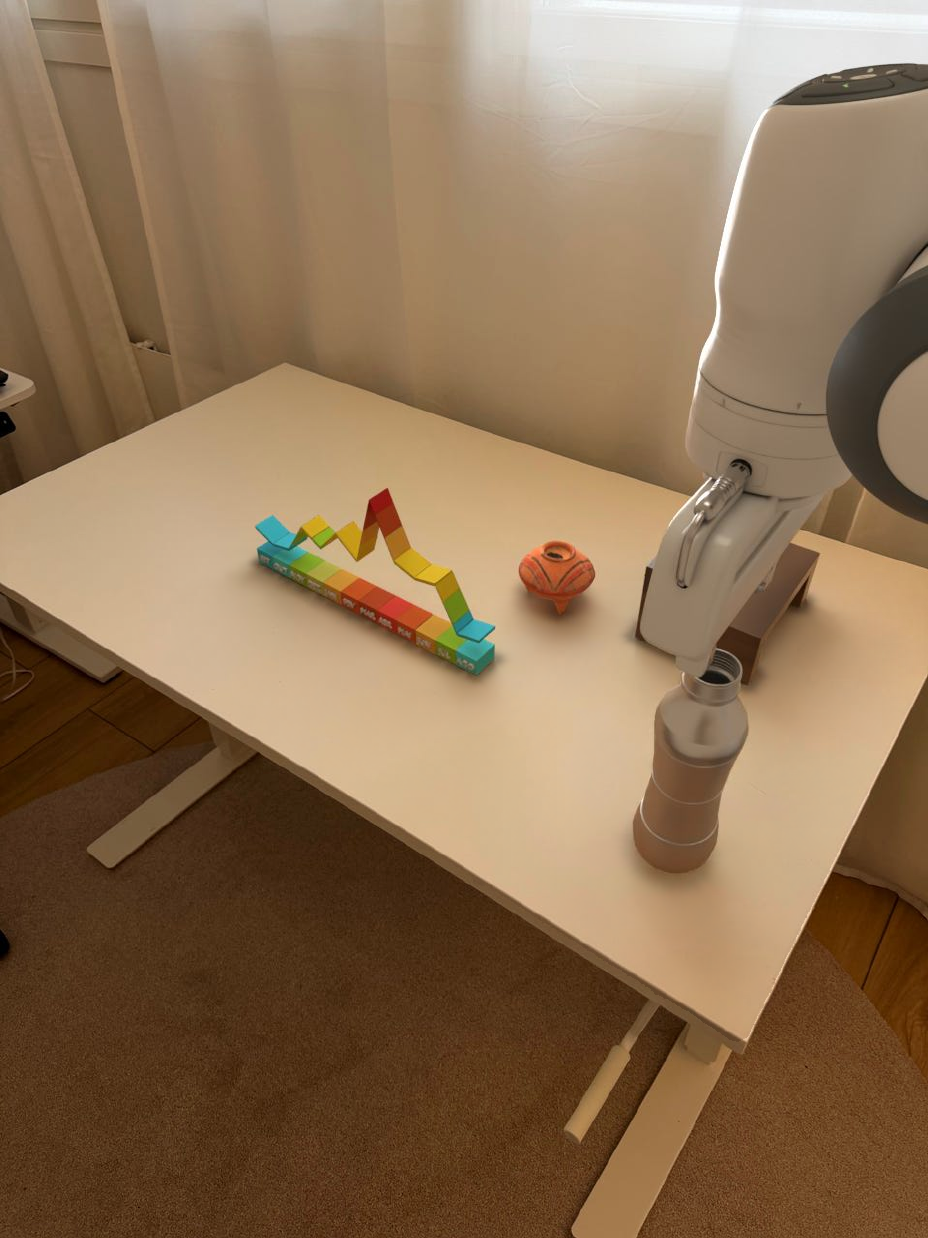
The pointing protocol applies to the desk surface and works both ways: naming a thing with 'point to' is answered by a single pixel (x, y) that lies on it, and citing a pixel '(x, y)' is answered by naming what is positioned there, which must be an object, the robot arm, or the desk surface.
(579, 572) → the pot
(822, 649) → the desk surface
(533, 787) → the desk surface
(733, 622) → the shelf
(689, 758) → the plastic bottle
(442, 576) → the chart
